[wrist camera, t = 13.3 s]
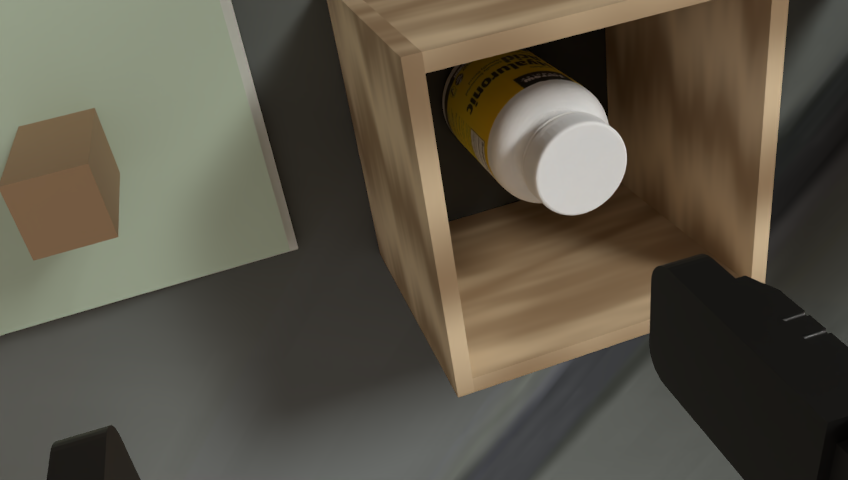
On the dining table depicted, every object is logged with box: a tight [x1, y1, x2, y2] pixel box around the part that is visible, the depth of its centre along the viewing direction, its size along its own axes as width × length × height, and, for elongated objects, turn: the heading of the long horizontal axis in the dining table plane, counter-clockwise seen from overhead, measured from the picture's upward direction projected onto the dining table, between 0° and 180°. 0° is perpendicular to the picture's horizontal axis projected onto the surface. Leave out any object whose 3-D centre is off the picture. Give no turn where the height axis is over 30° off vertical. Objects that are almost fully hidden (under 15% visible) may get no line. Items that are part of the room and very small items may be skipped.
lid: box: [0, 0, 290, 335], centre depth 31 cm, size 15×15×7 cm
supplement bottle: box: [442, 48, 627, 215], centre depth 36 cm, size 5×5×10 cm
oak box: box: [327, 0, 789, 397], centre depth 35 cm, size 14×14×12 cm
